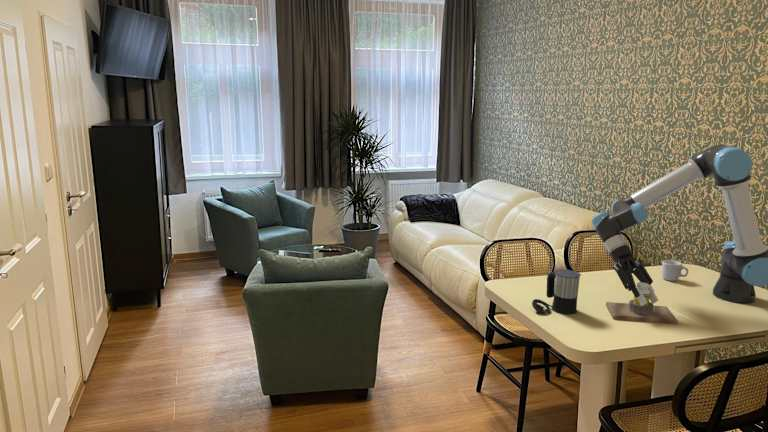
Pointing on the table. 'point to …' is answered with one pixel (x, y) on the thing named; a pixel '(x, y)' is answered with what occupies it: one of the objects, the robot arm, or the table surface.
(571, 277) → the milk frother
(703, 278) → the table surface
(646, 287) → the supplement bottle
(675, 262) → the cup
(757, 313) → the table surface
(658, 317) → the collar board
